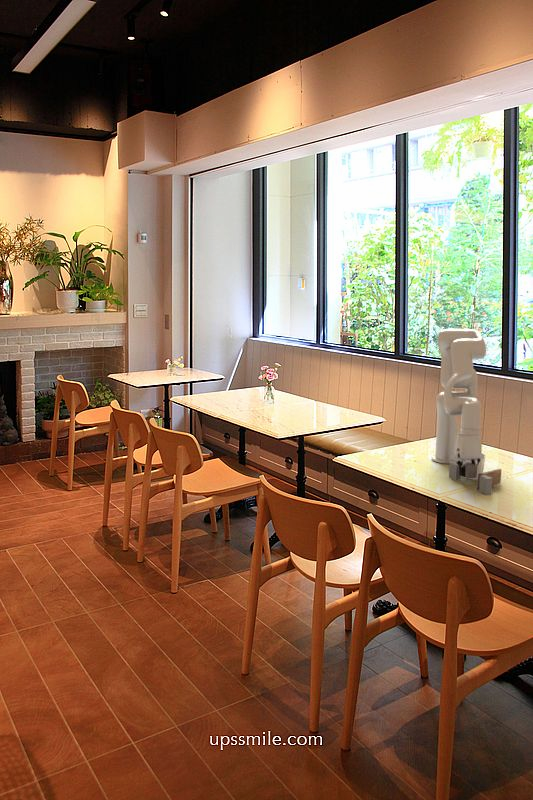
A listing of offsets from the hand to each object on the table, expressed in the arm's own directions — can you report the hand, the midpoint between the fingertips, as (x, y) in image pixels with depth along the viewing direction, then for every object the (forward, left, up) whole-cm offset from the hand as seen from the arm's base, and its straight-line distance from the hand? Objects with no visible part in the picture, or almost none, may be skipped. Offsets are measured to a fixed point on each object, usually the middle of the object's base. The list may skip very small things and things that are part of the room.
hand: (467, 475), depth 304 cm
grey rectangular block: (0, 0, 0) cm, 0 cm away
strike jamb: (0, -8, -4) cm, 9 cm away
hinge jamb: (0, +12, -4) cm, 13 cm away
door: (-5, +7, -3) cm, 10 cm away
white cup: (-8, -6, -4) cm, 11 cm away
